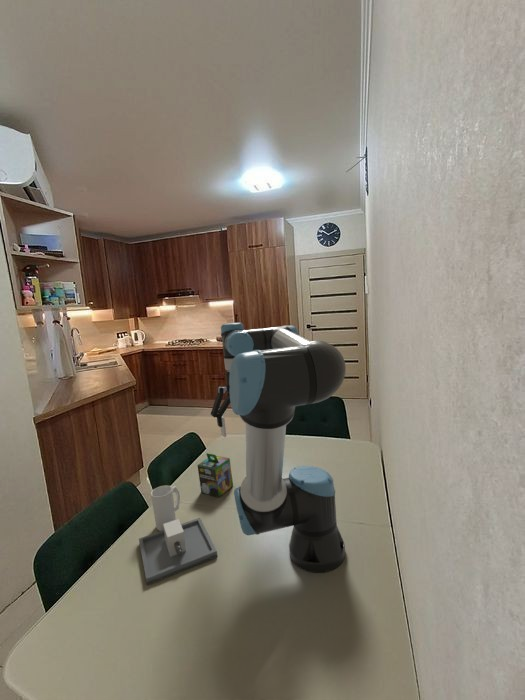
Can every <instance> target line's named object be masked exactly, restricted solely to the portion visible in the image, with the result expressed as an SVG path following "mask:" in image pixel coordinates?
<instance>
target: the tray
mask: <svg viewBox="0 0 525 700" xmlns="http://www.w3.org/2000/svg"><path fill="white" fill-rule="evenodd" d="M181 526H182V528H183V531H184V537H185V545H186V551H185V552H183V554H182V556H178V555H174V556H171V557H170V555H169V552H168V548H167V545H166V541H165V533H164V530H163V531H157V532H154V533H152V534H148V535H146V536H143V537H140V538H138V542H139V549H140V553H141V559H142V565H143V569H144V570H143V571H144V575H145V576H144V577H145V581H146V586H149V585H151V584H154V583H156V582H159V581H161V580H163V579H166V578H168V577H169V578H170V577H171V576H174V575H175V574H176V575H177V574H179V573H181V572H184V571H186V570H188V569H191V568H193V567H195V566H198V565H200V564H203V563H205V562H208V561H211V560H213V559H216V558H218V550H217V548H216V546H215V544H214V542H213V540H212V539H211V536H210V535H209V533H208V531H207V529H206V527H205V525H204V522H203V521H202V519H201V517H197V518H194V519H192V520H190V521H186V522H183V523H181Z"/></svg>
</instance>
